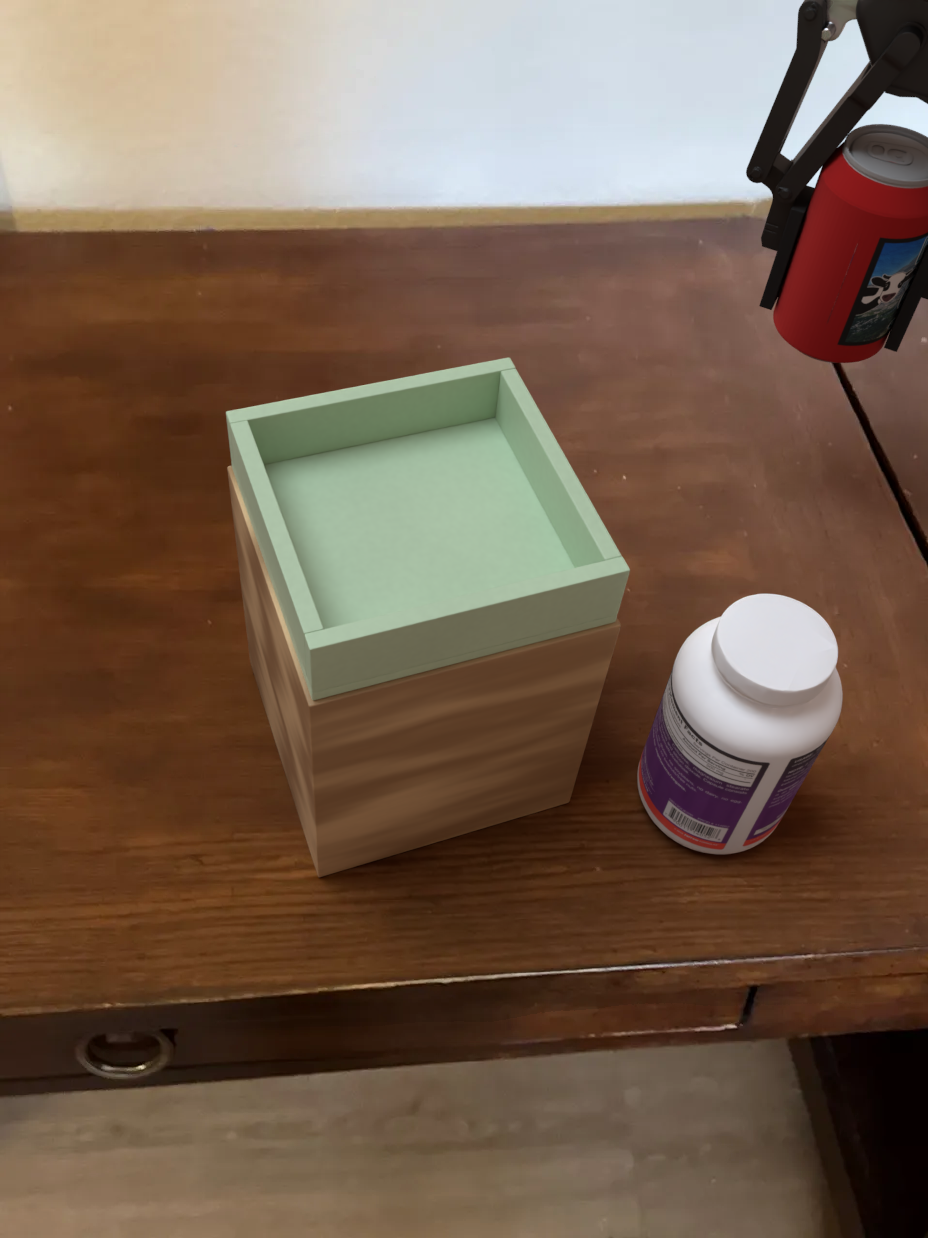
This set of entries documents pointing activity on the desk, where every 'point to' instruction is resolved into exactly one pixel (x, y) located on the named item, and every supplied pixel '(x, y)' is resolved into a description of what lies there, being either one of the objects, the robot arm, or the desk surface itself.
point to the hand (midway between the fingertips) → (832, 315)
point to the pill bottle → (740, 724)
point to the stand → (420, 732)
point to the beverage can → (857, 246)
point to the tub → (420, 524)
